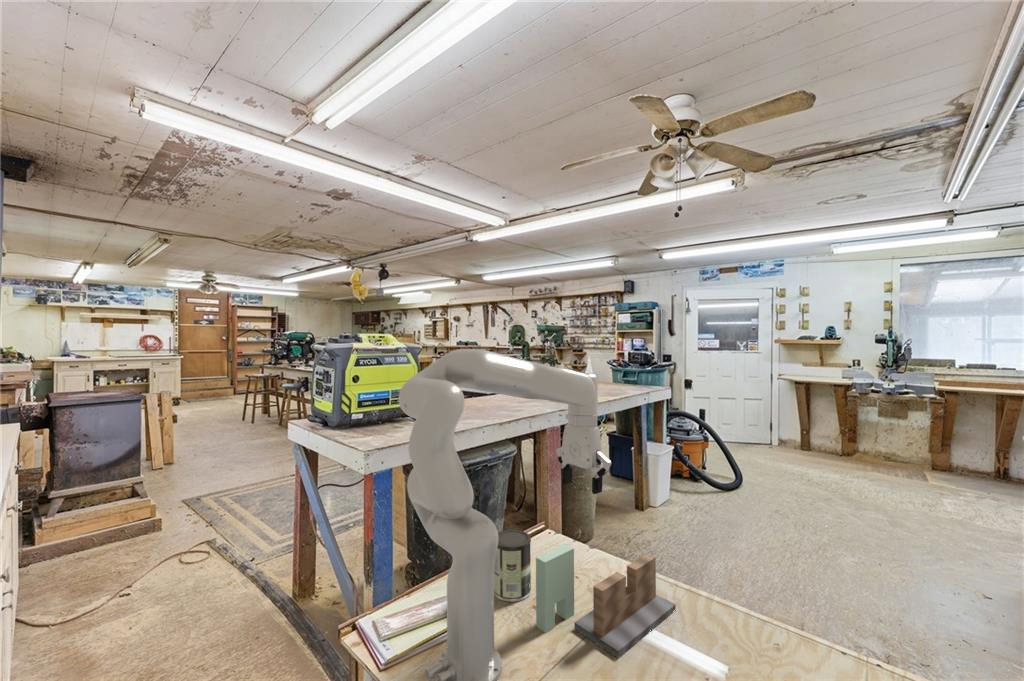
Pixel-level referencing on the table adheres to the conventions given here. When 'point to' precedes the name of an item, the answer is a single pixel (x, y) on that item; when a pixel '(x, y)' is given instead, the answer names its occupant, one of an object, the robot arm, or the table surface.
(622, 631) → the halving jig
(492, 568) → the robot arm
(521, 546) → the coffee can
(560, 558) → the green slat
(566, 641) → the table surface
